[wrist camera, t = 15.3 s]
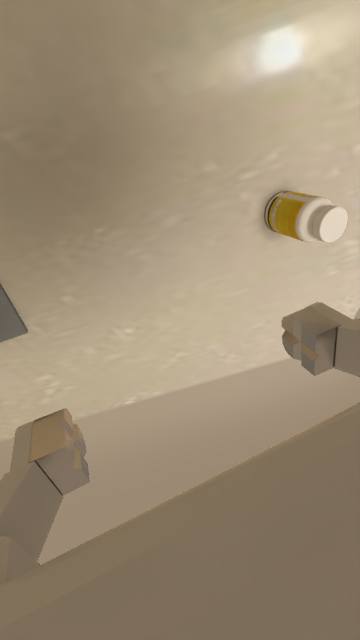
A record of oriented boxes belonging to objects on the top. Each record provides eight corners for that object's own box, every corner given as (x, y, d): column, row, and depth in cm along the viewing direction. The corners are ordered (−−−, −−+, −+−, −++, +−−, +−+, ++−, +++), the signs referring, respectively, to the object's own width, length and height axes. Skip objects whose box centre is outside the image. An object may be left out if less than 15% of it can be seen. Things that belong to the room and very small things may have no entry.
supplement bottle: (268, 238, 44) (317, 257, 36) (259, 202, 41) (311, 214, 33) (299, 220, 45) (354, 234, 36) (293, 183, 41) (351, 190, 33)
